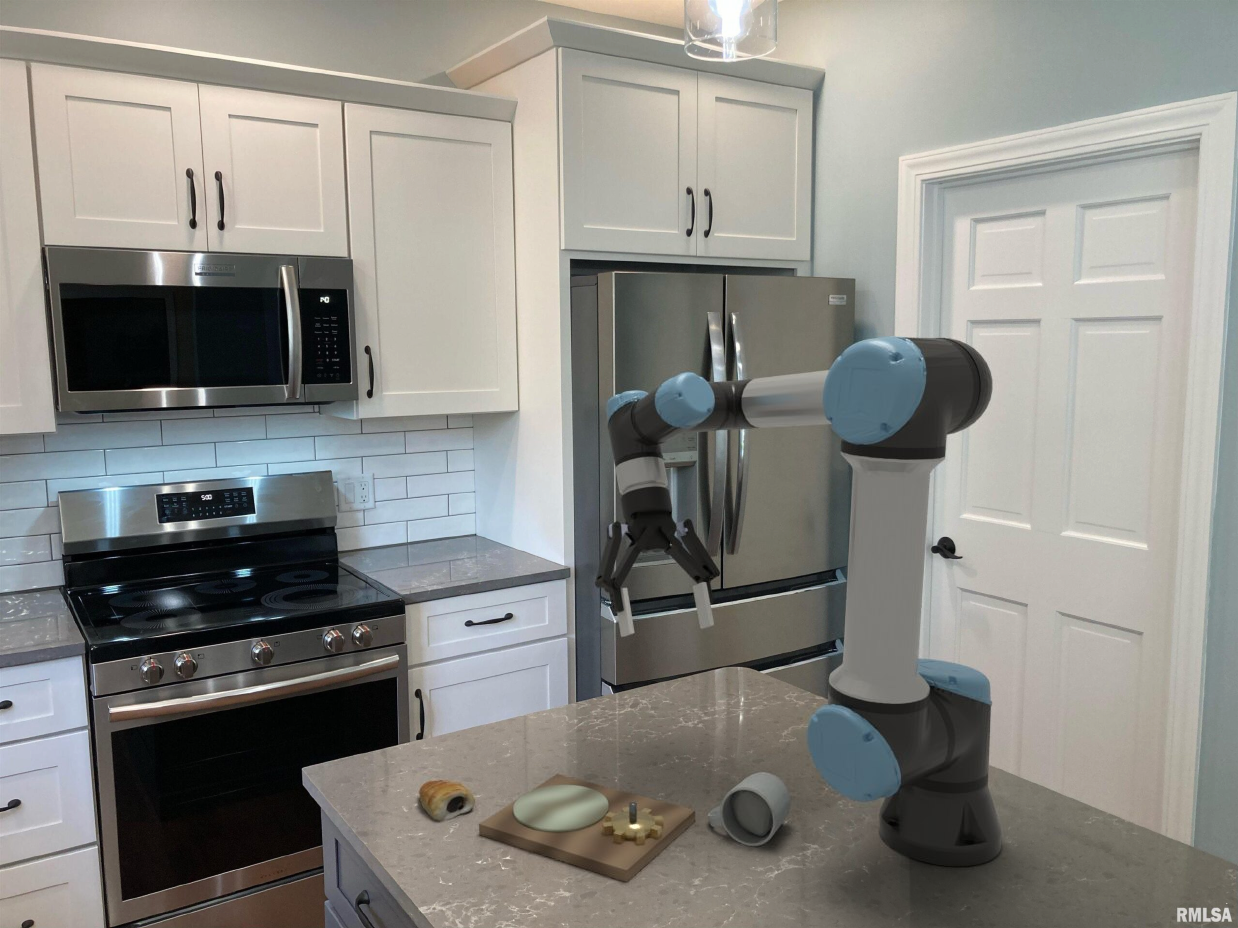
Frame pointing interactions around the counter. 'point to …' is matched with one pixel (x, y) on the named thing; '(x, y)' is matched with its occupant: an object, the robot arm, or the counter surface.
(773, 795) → the ceramic mug
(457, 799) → the pastry
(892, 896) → the counter surface
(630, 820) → the gear
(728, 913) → the counter surface
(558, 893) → the counter surface
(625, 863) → the gear board
